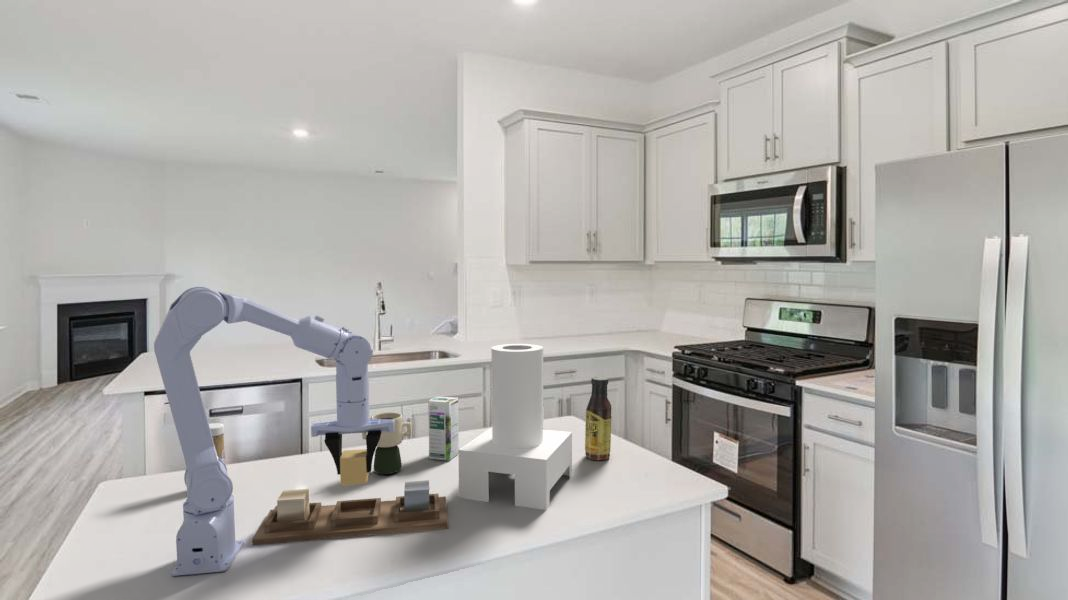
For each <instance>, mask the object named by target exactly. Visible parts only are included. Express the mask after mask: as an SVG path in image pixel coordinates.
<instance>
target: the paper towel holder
mask: <svg viewBox="0 0 1068 600" xmlns="http://www.w3.org/2000/svg"><path fill="white" fill-rule="evenodd" d="M489 473H497V474H506V475H514V506H515V507H524V508H531V509H536V510H542V511H543V510H544V511H547V510H548V509H549V507H550V498H551V497H550V494H551V493H550V491H551V489H552V488H553V487H554V486H555V484H556V483H558V481H559V480H560V479H561V477H562V476H567V477H568V476H569V479H571V478H572V476H573V432H572V431H563V430H554V429H552V430H551V429H544V346H542V345H539V344H532V343H531V344H530V343H505V344H504V343H503V344H497V345H493V346H491V427H489V428H488V429H486V430H485V431H484V432H481V434H479V435H477V436H476V437H475V438H474V439H473V438H472V440H470V441H469V442H467V443H466V444H465V445H463V446H462V447H460V448H459V450H458V498H460V499H466V500H473V501H481V502H487V503H489V502H490V500H489V499H490V496H489Z"/></svg>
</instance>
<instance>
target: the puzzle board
mask: <svg viewBox="0 0 1068 600" xmlns="http://www.w3.org/2000/svg"><path fill="white" fill-rule="evenodd" d="M403 492H404V494H403V495H400V496H396V497H395V499H394V500H382V497H374V498H373V497H372V498H361V499H349V500H348V499H347V500H337V501H336V503H335V504H328V505H322V502H310V488H302V489H287V490H282V492H281V493H280V495H279V496H278V499H277V501H276V505H275V507H274V508H273V509H270V510H269V512H268V514H267V515H266V517H265V518H264V520H263V522H262V523H261V525H260V526H259V528H258V529H257V531H256V533H255V535H254V536H253V538H252V541H251V543H252V546H259V545H270V544H281V543H283V544H284V543H294V542H305V541H307V542H308V541H316V540H328V539H339V538H341V539H342V538H351V537H363V536H374V535H388V534H395V533H396V534H397V533H398V534H399V533H408V532H409V533H410V532H420V531H421V532H422V531H432V530H433V531H435V530H446V529H449V520H448V509H447V508H448V507H447V497H446V496H440V495H439V493H430V480H429V479H427V480H415V481H413V480H412V481H404V490H403Z"/></svg>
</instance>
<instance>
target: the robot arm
mask: <svg viewBox="0 0 1068 600" xmlns="http://www.w3.org/2000/svg"><path fill="white" fill-rule="evenodd" d="M223 321H224V322H225V323H226V324H228V325H229V324H234V323H235V324H236V323H241V322H247V323H251V324H254V325H256V326H260V327H262V328H266V329H269V330H271V331H274V332H277V333H280V334H283V335H286V336H288V337H290V338H291V339H292V342H293V344H294V346H295V347H296V348H298V349H302V350H303V351H304V350H305V351H307V352H309V353H313V354H315V355H318V356H319V357H324V358H326V359H329V360H331V359H334V360H335V361H336V362H335V370H336V374H335V391H336V395H335V396H336V420H331V421H326V422H314V423H312V424H311V426H310V432H311V433H310V434H311V435H310V436H311V438H315V437H319V436H324V440H323V441H324V444H325V446H326V448H327V449H328V451H329V452H330V454H331V457H332V459H333V461H334V465H335V469H336V475H339V476H340V457H341V455H342V453H343V449H342V448H343V444H342V443H343V435H347V434H362V433H367V436H366V440H365V442H366V444H365V445H366V449H367V473H369V474H370V473H371V472H372V468H373V467H372V466H373V465H372V464H373V461H374V459H373V458H374V456H375V450H376V448H377V444H378V442H379V440H380V437H381V433H382V432H386V431H388V432H394V419H371V417H370V388H369V387H370V386H369V385H370V383H369V381H370V380H369V377H370V376H369V363H370V361H371V360H372V358H373V355H374V350H373V349H372V348H371V344H370V342H369V341H368V340H367V339H366V338H365V337H363V336H361V335H358V334H356V333H353V332H352V331H350V330H349V328H347V327H345V326H342V327H337V326H335V325H333V324H331V323H328V322H325V318H324V317H323V316H319V315H315V316H314V317H312V316H311V315H309V316H306V317H303V318H299V319H297V318H294V317H291V316H289V315H287V314H284V313H281V312H279V311H278V310H275V309H272V308H270V307H268V306H265V305H262V304H261V303H258V302H256V301H254V300H251V299H248V298H247V297H243V296H241V295H235V294H231V293H227V292H222V291H217V292H216V291H214V290H212V289H211V288H209V287H205V286H193V287H190V288H188V289H186V290H185V291H183V292H182V293H181V294H180V295H179V296H178V297H177V298H176V299H174V300H173V302H172V303H171V304H170V306H169V309H168V311H167V314H166V316H165V318H164V320H163V322H162V324H161V327H160V329H159V331H158V334H157V335H156V336H155V337H156V338H155V340H154V342H153V350H154V351H153V352H154V354H155V358H156V362H157V365H158V368H159V372H160V377H161V379H162V383H163V386H164V389H165V394H166V397H167V401H168V404H169V408H170V411H171V412H170V413H171V415H172V419H173V421H174V422H173V423H174V426H175V431H176V432H177V437H178V440H179V444H180V447H181V451H182V454H183V458H184V463H185V466H186V467H185V472H184V476H183V479H184V484H185V486H186V499H185V501H183V504H182V509H183V510H182V512H183V515H182V516H183V520H182V521H183V522H182V523H181V525H180V527H179V529H178V530H177V533H176V537H175V545H176V546H175V547H176V566H175V567H174V569H172V570H171V572H170V575H171V576H172V577H177V576H189V575H198V574H199V575H200V574H206V573H220V572H225V571H227V570H228V569H229V568H230V566H231V564H232V563H233V562H234V560H235V558H236V556H238V553H239V552H240V551H241V549H242V547H243V546H244V544H245V541H244V539H243V540H242V539H241V540H236V525H235V523H236V522H235V521H236V520H235V503H234V501H235V499H234V495H233V491H234V486H233V485H234V484H233V481H232V479H231V477H230V476H229V474H228V468H227V465H226V462H225V463H224V462H223V461H222V460H221V459H220V458H219V457H218V456H217V452H216V449H215V445H214V442H213V438H212V434H211V431H210V427H209V424H210V423H209V420H208V417H207V412H206V409H205V406H204V401H203V397H202V394H201V393H202V392H201V390H200V386H199V383H198V380H197V376H196V372H195V368H194V364H193V360H192V356H191V351H192V350H193V348H194V347H195V346H196V344H197V343H198V342H199V341H200V340H201V338H202V337H203V336H204V335H205V334H207V333H208V332H210V331H212V330H214V328H216V327H218V326H219V325H220V324H221V323H222V322H223Z"/></svg>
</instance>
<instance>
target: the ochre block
mask: <svg viewBox="0 0 1068 600" xmlns="http://www.w3.org/2000/svg"><path fill="white" fill-rule="evenodd" d="M369 475H370V472H369V473H367V448H366V449H365V448H364V449H350V450H342V455H341V457H340V475H339V476H340V479H339V480H340V487H341V486H342V487H343V486H357V485H367V484H368V479H369Z"/></svg>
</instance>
